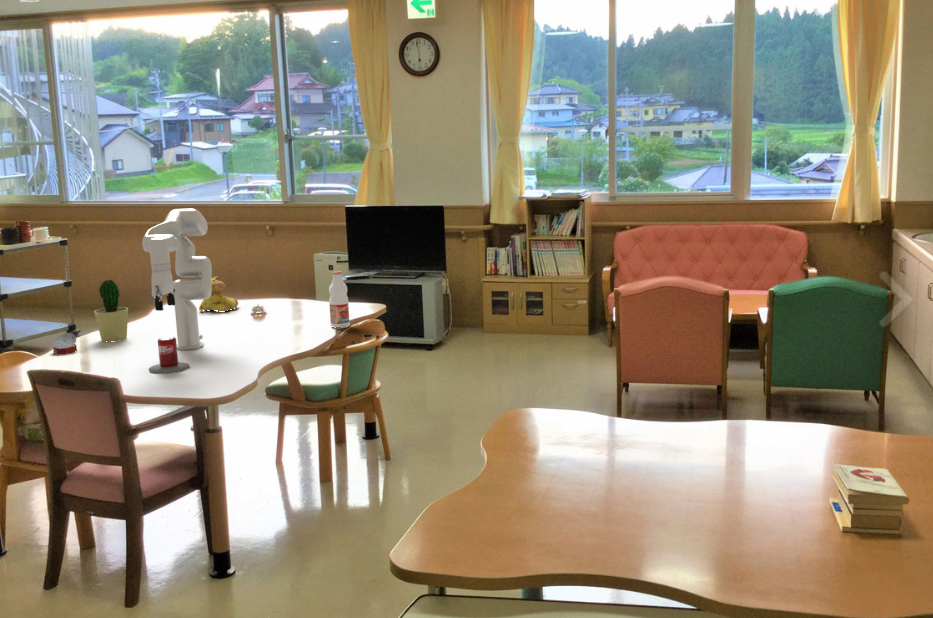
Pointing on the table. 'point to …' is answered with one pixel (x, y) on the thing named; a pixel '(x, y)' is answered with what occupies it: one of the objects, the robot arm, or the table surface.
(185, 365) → the charcoal mat
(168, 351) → the soda can
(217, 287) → the giraffe plush
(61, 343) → the snow globe
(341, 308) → the fruit juice
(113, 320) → the potted cactus
